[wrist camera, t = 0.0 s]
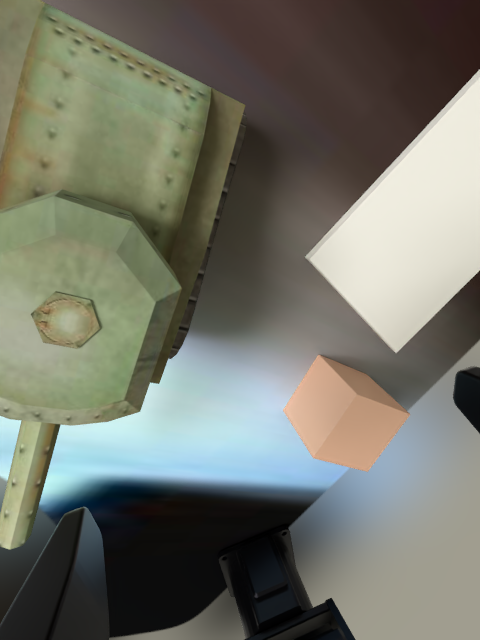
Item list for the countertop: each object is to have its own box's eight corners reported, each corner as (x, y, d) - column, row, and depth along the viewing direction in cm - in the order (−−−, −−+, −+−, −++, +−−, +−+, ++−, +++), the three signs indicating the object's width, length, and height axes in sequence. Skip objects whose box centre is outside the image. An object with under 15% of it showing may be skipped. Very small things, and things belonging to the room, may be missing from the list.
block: (331, 424, 30) (367, 471, 26) (282, 409, 28) (313, 458, 24) (366, 373, 29) (410, 414, 25) (318, 353, 27) (357, 394, 23)
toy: (-55, 389, 20) (-178, 571, 12) (5, 2, 15) (-142, -188, 6) (131, 413, 24) (141, 560, 16) (231, 114, 19) (330, 90, 10)
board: (391, 349, 29) (396, 353, 28) (304, 256, 23) (309, 259, 23) (554, 187, 27) (562, 187, 26) (500, 46, 22) (510, 44, 21)
